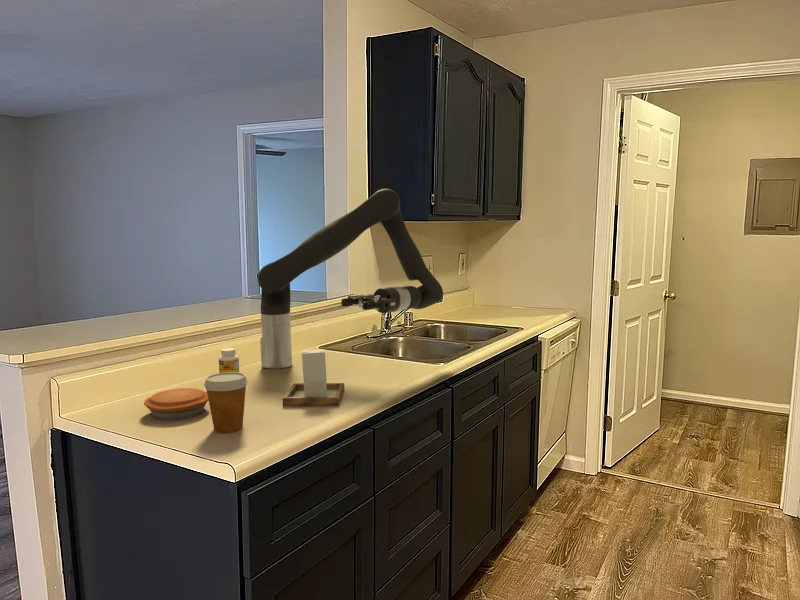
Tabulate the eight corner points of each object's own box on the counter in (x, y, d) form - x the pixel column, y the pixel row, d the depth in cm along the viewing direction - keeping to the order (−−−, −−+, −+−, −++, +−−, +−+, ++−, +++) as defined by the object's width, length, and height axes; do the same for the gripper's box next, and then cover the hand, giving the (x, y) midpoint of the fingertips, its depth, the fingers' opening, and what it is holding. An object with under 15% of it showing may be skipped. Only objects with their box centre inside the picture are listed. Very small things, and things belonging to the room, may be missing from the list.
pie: (163, 403, 161) (161, 384, 161) (220, 403, 160) (219, 385, 159) (132, 422, 146) (130, 402, 145) (196, 423, 145) (194, 402, 144)
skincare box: (326, 392, 166) (325, 348, 164) (327, 397, 161) (326, 352, 160) (303, 394, 165) (301, 349, 163) (303, 399, 160) (301, 353, 159)
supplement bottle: (215, 385, 177) (213, 350, 176) (228, 380, 182) (226, 346, 181) (231, 387, 175) (229, 352, 174) (243, 382, 180) (242, 348, 179)
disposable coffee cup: (258, 423, 144) (255, 373, 142) (234, 437, 135) (231, 383, 133) (223, 419, 147) (220, 370, 145) (197, 433, 138) (194, 380, 136)
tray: (282, 406, 156) (282, 398, 156) (293, 391, 170) (293, 383, 170) (338, 406, 156) (337, 397, 156) (344, 390, 170) (344, 382, 169)
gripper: (375, 284, 189) (335, 288, 177) (410, 289, 179) (371, 293, 167) (374, 309, 190) (335, 314, 178) (409, 314, 180) (370, 320, 168)
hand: (352, 304), depth 173 cm, fingers open, 8 cm apart
